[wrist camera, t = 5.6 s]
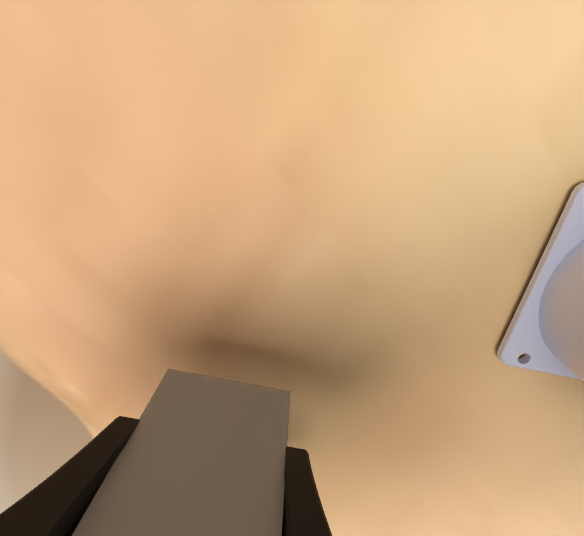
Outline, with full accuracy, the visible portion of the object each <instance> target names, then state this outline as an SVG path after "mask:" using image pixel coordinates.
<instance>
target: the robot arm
mask: <svg viewBox="0 0 584 536" xmlns="http://www.w3.org/2000/svg"><path fill="white" fill-rule="evenodd" d="M522 354H525V355H524V356H523V357H522V358H519V359H518V357H519V356H520V355H522ZM497 356H498V358H499V359H500V360H501V361H502V362H503V363H504V364H505V365H508V366H513V367H518V368H523V369H528V370H534V371H539V372H544V373H549V374H554V375H559V376H564V377H569V378H575V379H580V380H582V381H583V382H584V182H582V183H580V184H579V185H577V186H576V187H575V188H574V190H573V191H572V193H571V195H570V197H569V199H568V202H567V204H566V206H565V208H564V210H563V212H562V214H561V216H560V219H559V221H558V223H557V225H556V227H555V229H554V231H553V234H552V236H551V238H550V240H549V242H548V244H547V246H546V248H545V251H544V253H543V255H542V257H541V259H540V261H539V263H538V265H537V268H536V270H535V272H534V274H533V276H532V278H531V280H530V283H529V285H528V287H527V289H526V291H525V293H524V295H523V297H522V300H521V302H520V304H519V306H518V308H517V310H516V312H515V314H514V317H513V319H512V321H511V323H510V325H509V327H508V329H507V332H506V334H505V336H504V338H503V340H502V342H501V344H500V346H499V349H498V352H497ZM139 421H140V420H139V419H133V418H128V417H122V416H119V417H117V418H116V419H115V420H114V421H113V422H112V423H110V424H109V425H108V426H107V427H106V428H105V429H104V430H103V431H102V432H101V433H100V434H98V435H97V436H96V437H95V438H94V439H93V440H92V441H91V442H90V443H88V444H87V445H86V446H85V447H84V448H83V449H82V450H80V451H79V452H78V453H77V454H76V455H75V456H74V457H72V458H71V459H70V460H69V461H68V462H66V463H65V464H64V465H63V466H62V467H60V468H59V469H58V470H57V471H56V472H54V473H53V474H52V475H51V476H49V477H48V478H47V479H46V480H45V481H43V482H42V483H41V484H39V485H38V486H37V487H36V488H34V489H33V490H32V491H30V492H29V493H28V494H26V495H25V496H24V497H23V498H21V499H20V500H19V501H17V502H16V503H15V504H13V505H12V506H11V507H9V508H8V509H7V510H5V511H4V512H3V513H1V514H0V536H72V534H73V533H74V531H75V529H76V527H77V526H78V524H79V522H80V521H81V519H82V517H83V515H84V514H85V512H86V510H87V508H88V507H89V505H90V503H91V502H92V500H93V498H94V496H95V495H96V493H97V491H98V490H99V488H100V486H101V484H102V483H103V481H104V479H105V477H106V476H107V474H108V472H109V471H110V469H111V467H112V465H113V464H114V462H115V460H116V459H117V457H118V456H119V455H120V453H121V452H122V450H123V449H124V447H125V445H126V444H127V442H128V440H129V438H130V437H131V435H132V433H133V432H134V430H135V428H136V426H137V425H138V423H139ZM284 485H285V488H284V505H283V521H282V536H332V534H331V531H330V528H329V525H328V522H327V519H326V516H325V513H324V511H323V508H322V504H321V501H320V498H319V495H318V491H317V488H316V484H315V481H314V477H313V473H312V469H311V464H310V460H309V454H308V452H307V451H306V450H304V449H298V448H293V447H287V446H286V455H285V471H284Z"/></svg>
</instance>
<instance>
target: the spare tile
mask: <svg viewBox="0 0 584 536" xmlns="http://www.w3.org/2000/svg"><path fill="white" fill-rule="evenodd" d="M289 404H290V391H285V390H279V389H274V388H268V387H263V386H258V385H252V384H247V383H241V382H236V381H231V380H225V379H220V378H215V377H209V376H204V375H198V374H193V373H188V372H182V371H177V370H171V369H168V370H167V372H166V374H165V376H164V377H163V379H162V381H161V383H160V384H159V386H158V388H157V389H156V391H155V393H154V395H153V396H152V398H151V400H150V402H149V403H148V405H147V407H146V408H145V410H144V412H143V414H142V415H141V417H140V419H139V420H140V421H139V423H138V425H137V426H136V428H135V430H134V432H133V433H132V435H131V437H130V438H129V440H128V442H127V444H126V445H125V447H124V449H123V450H122V452H121V453H120V455H119V456H118V457H117V459H116V460H115V462H114V464H113V465H112V467H111V469H110V471H109V472H108V474H107V476H106V477H105V479H104V481H103V483H102V484H101V486H100V488H99V490H98V491H97V493H96V495H95V496H94V498H93V500H92V502H91V503H90V505H89V507H88V508H87V510H86V512H85V514H84V515H83V517H82V519H81V521H80V522H79V524H78V526H77V527H76V529H75V531H74V533H73V534H72V536H282V521H283V505H284V488H285V485H284V471H285V455H286V446H287V438H288V421H289Z"/></svg>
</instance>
